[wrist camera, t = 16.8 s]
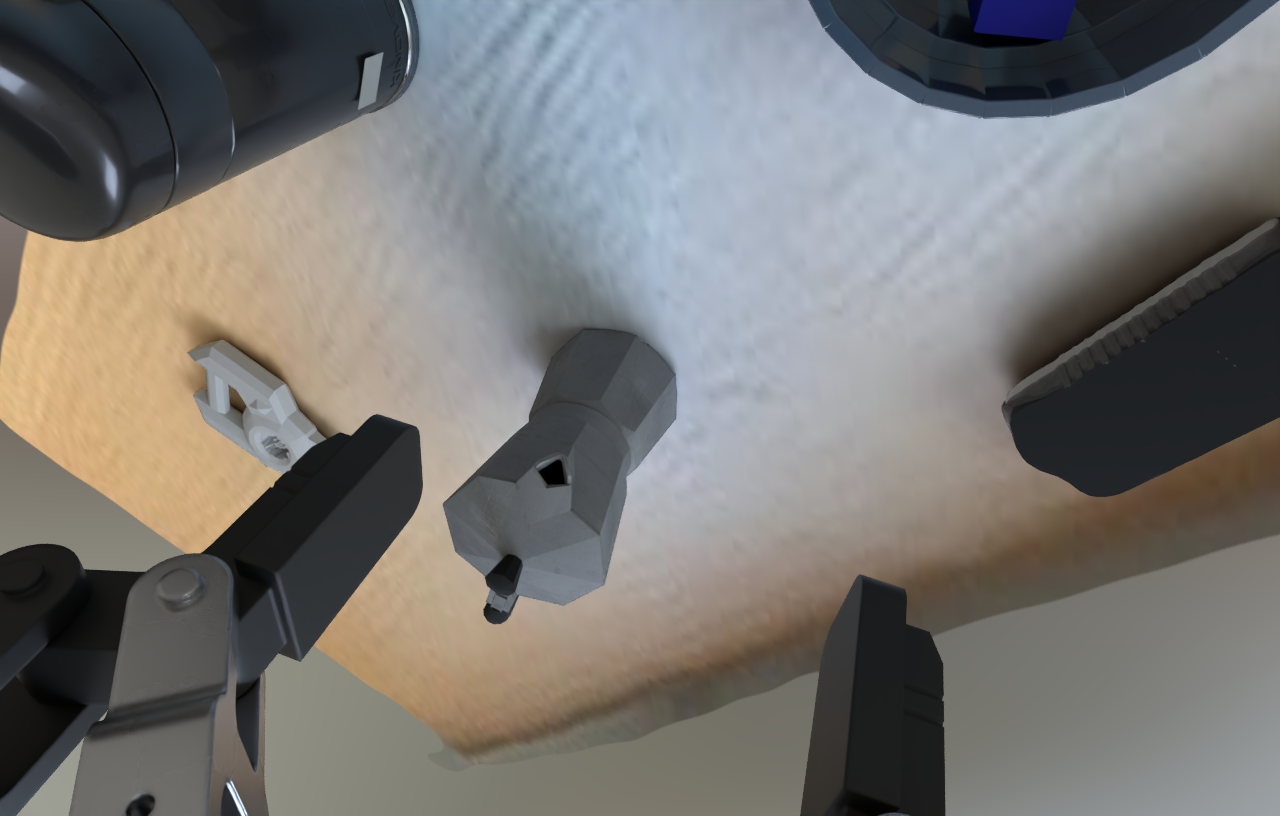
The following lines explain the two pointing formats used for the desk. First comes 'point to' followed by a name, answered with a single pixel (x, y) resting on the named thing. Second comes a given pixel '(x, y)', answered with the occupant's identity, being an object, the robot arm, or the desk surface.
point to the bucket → (1029, 51)
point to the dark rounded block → (1161, 376)
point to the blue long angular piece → (1022, 17)
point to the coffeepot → (564, 473)
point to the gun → (253, 407)
